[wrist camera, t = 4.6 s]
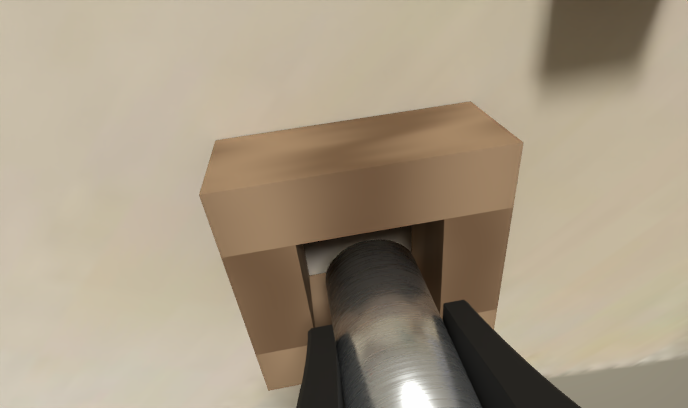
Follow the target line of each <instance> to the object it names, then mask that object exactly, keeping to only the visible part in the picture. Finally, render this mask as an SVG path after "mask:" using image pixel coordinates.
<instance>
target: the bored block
mask: <svg viewBox="0 0 688 408" xmlns="http://www.w3.org/2000/svg"><path fill="white" fill-rule="evenodd" d="M522 148H523V142H522V141H521V140H519V139H518V138H517V137H516V136H514V135H513V134H512V133H510V132H509V131H508V130H507V129H505V128H504V127H503V126H501V125H500V124H499V123H498V122H496V121H495V120H494V119H492V118H491V117H490V116H489V115H487V114H486V113H485V112H483V111H482V110H481V109H479V108H478V107H477V106H476V105H474V104H473V103H472V102H464V103H458V104H451V105H445V106H438V107H432V108H425V109H419V110H412V111H406V112H399V113H392V114H386V115H379V116H373V117H366V118H360V119H353V120H347V121H340V122H334V123H327V124H320V125H314V126H307V127H301V128H294V129H288V130H281V131H275V132H268V133H262V134H255V135H248V136H242V137H235V138H229V139H222V140H216V141H215V144H214V147H213V151H212V154H211V157H210V161H209V164H208V167H207V171H206V174H205V177H204V181H203V184H202V187H201V191H200V194H199V196H200V199H201V202H202V204H203V207H204V210H205V213H206V216H207V218H208V221H209V224H210V227H211V230H212V233H213V235H214V238H215V241H216V244H217V247H218V249H219V252H220V255H221V258H222V261H223V264H224V266H225V269H226V272H227V275H228V278H229V281H230V283H231V286H232V289H233V292H234V295H235V297H236V300H237V303H238V306H239V309H240V312H241V314H242V317H243V320H244V323H245V326H246V328H247V331H248V334H249V337H250V340H251V343H252V345H253V348H254V351H255V354H256V357H257V359H258V362H259V365H260V368H261V371H262V374H263V376H264V379H265V382H266V385H267V388H268V391H269V390H274V389H279V388H284V387H289V386H294V385H299V384H302V379H303V373H304V367H305V361H306V353H307V342H308V331H309V330H310V329H311V328H316V327H321V326H326V325H332V321H331V314H330V308H329V301H328V295H327V289H326V273H322V274H316V275H311V276H309V272H308V267H307V262H306V257H305V252H304V247H303V244H305V243H310V242H316V241H322V240H328V239H333V238H339V237H345V236H351V235H357V234H362V233H368V232H374V231H380V230H385V229H391V228H397V227H403V226H409V225H411V227H412V255H413V257H414V259H415V261H416V263H417V265H418V268H419V270H420V272H421V274H422V276H423V279H424V281H425V283H426V285H427V287H428V290H429V292H430V294H431V296H432V298H433V301H434V303H435V305H436V307H437V309H438V312H439V314H440V316H441V318H442V320H443V303H448V302H453V301H459V300H465V301H467V302H468V303H469V304H470V305H471V307H472V308H473V309H474V310H475V311H476V312H477V313H478V314H479V315H480V316H481V317H482V318H483V319H484V320H485V321H486V322H487V323H488V324H489V325H490V327H491V328H492V329H493V330H494V325H495V319H496V312H497V306H498V300H499V293H500V287H501V281H502V274H503V268H504V262H505V256H506V249H507V243H508V237H509V230H510V224H511V218H512V211H513V205H514V199H515V192H516V186H517V180H518V173H519V167H520V161H521V155H522Z"/></svg>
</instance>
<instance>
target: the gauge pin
mask: <svg viewBox="0 0 688 408" xmlns="http://www.w3.org/2000/svg"><path fill="white" fill-rule="evenodd" d="M326 289H327V295H328V301H329V308H330V314H331V321H332V325H333V331H334V336H335V342H336V348H337V355H338V361H339V367H340V374H341V384H342V392H343V398H344V404H345V408H482V406H481V404H480V402H479V400H478V398H477V395H476V393H475V391H474V389H473V387H472V384H471V382H470V380H469V378H468V376H467V373H466V371H465V369H464V367H463V364H462V362H461V360H460V358H459V356H458V353H457V351H456V349H455V347H454V345H453V342H452V340H451V338H450V336H449V334H448V331H447V329H446V327H445V325H444V323H443V320H442V318H441V316H440V314H439V312H438V309H437V307H436V305H435V303H434V301H433V298H432V296H431V294H430V292H429V290H428V287H427V285H426V283H425V281H424V279H423V276H422V274H421V272H420V270H419V268H418V265H417V263H416V261H415V259H414V257H413V255H412V254H411V252H410V251H409V250H408V249H407V248H405V247H404V246H402V245H401V244H399V243H396V242H393V241H389V240H379V239H377V240H368V241H363V242H360V243H357V244H354V245H352V246H350V247H348V248H347V249H345V250H344V251H342V252H341V253H340V254H339V255H337V257H336V258H335V259H334V260H333V261H332V263H331V264H330V266H329V268H328V270H327V273H326Z"/></svg>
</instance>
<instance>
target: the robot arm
mask: <svg viewBox="0 0 688 408" xmlns="http://www.w3.org/2000/svg"><path fill="white" fill-rule="evenodd" d="M443 323H444V325H445V327H446V329H447V331H448V334H449V336H450V338H451V340H452V342H453V345H454V347H455V349H456V351H457V353H458V356H459V358H460V360H461V362H462V364H463V367H464V369H465V371H466V373H467V376H468V378H469V380H470V382H471V384H472V387H473V389H474V391H475V393H476V395H477V398H478V400H479V402H480V404H481V406H482V408H581V407H580V406H578V405H577V404H576V403H575V402H573V401H572V400H571V399H570V398H568V397H567V396H566V395H565V394H564V393H562V392H561V391H560V390H558V389H557V388H556V387H555V386H554V385H553V384H551V383H550V382H549V381H548V380H547V379H546V378H545V377H543V376H542V375H541V374H540V373H539V372H538V371H537V370H536V369H534V368H533V367H532V366H531V365H530V364H529V363H528V362H527V361H526V360H525V359H523V358H522V357H521V356H520V355H519V354H518V353H517V352H516V351H515V350H514V349H513V348H512V347H511V346H510V345H509V344H508V343H507V342H506V341H504V340H503V339H502V338H501V337H500V336H499V335H498V334H497V333H496V332H495V331H494V330H493V329H492V328H491V327H490V325H489V324H488V323H487V322H486V321H485V320H484V319H483V318H482V317H481V316H480V315H479V314H478V313H477V312H476V311H475V310H474V309H473V308H472V307H471V305H470V304H469V303H468V302H467V301H465V300H459V301H453V302H448V303H443ZM296 408H345V404H344V398H343V392H342V384H341V374H340V367H339V361H338V355H337V348H336V342H335V336H334V331H333V325H326V326H321V327H316V328H311V329H310V330H309V331H308V342H307V353H306V361H305V367H304V373H303V379H302V384H301V388H300V393H299V398H298V403H297V407H296Z"/></svg>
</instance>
